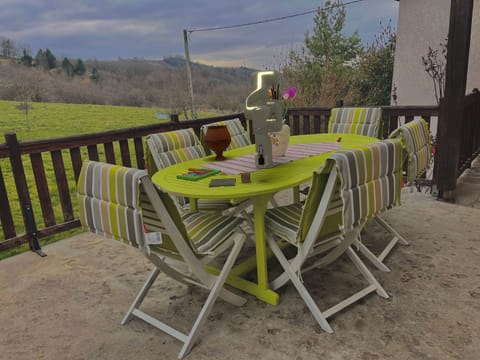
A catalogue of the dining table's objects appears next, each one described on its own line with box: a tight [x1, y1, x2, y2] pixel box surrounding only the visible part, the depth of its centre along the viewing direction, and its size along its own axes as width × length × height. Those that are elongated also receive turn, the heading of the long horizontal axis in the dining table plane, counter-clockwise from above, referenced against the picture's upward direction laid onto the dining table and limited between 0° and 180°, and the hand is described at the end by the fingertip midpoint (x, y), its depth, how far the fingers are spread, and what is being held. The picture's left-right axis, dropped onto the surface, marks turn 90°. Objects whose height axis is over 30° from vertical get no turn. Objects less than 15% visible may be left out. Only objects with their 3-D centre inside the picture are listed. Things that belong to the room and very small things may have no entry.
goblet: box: [204, 124, 232, 162], centre depth 272 cm, size 19×19×25 cm
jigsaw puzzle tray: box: [176, 167, 222, 182], centre depth 231 cm, size 23×2×25 cm
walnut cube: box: [240, 171, 252, 184], centre depth 205 cm, size 5×5×5 cm
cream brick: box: [254, 154, 268, 167], centre depth 203 cm, size 5×7×5 cm
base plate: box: [208, 177, 237, 188], centre depth 206 cm, size 14×14×1 cm
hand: (261, 163), depth 204 cm, fingers closed on cream brick, 5 cm apart
